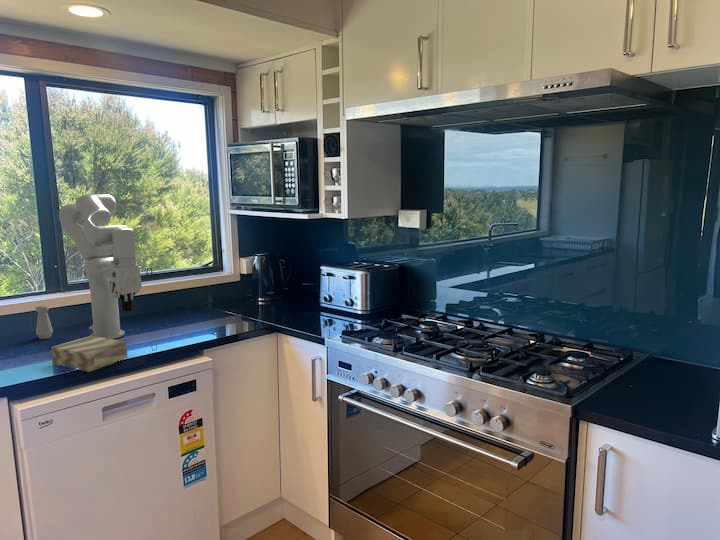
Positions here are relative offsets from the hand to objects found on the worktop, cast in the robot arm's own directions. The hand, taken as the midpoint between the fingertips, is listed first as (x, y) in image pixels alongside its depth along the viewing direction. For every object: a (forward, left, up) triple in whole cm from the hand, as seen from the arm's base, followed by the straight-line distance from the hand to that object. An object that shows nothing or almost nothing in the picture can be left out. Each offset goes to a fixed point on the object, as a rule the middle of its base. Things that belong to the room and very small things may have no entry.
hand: (127, 310), depth 197 cm
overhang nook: (+1, -17, -14) cm, 22 cm away
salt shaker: (-41, -6, -14) cm, 44 cm away
